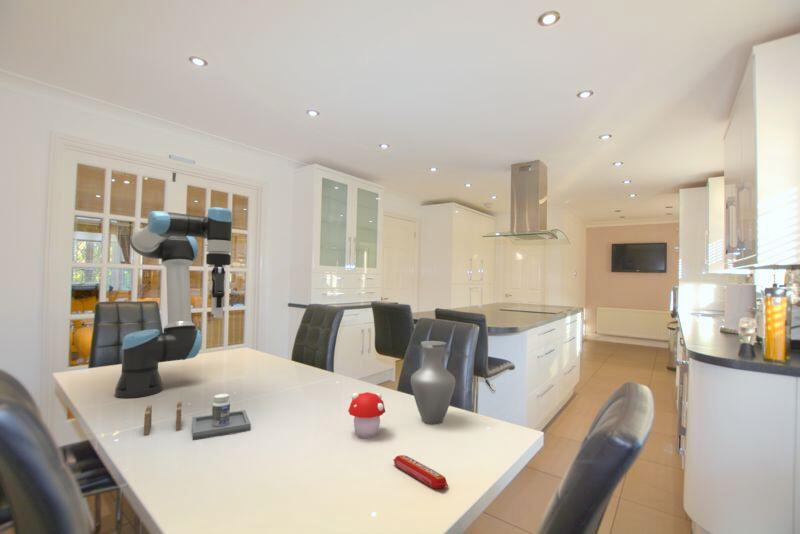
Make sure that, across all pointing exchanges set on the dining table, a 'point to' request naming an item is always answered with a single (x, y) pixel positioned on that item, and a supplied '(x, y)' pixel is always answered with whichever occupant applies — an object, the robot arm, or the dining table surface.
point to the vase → (433, 384)
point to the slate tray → (205, 428)
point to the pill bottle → (220, 410)
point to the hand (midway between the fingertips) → (216, 315)
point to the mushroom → (366, 413)
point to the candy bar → (420, 471)
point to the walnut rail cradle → (149, 415)
